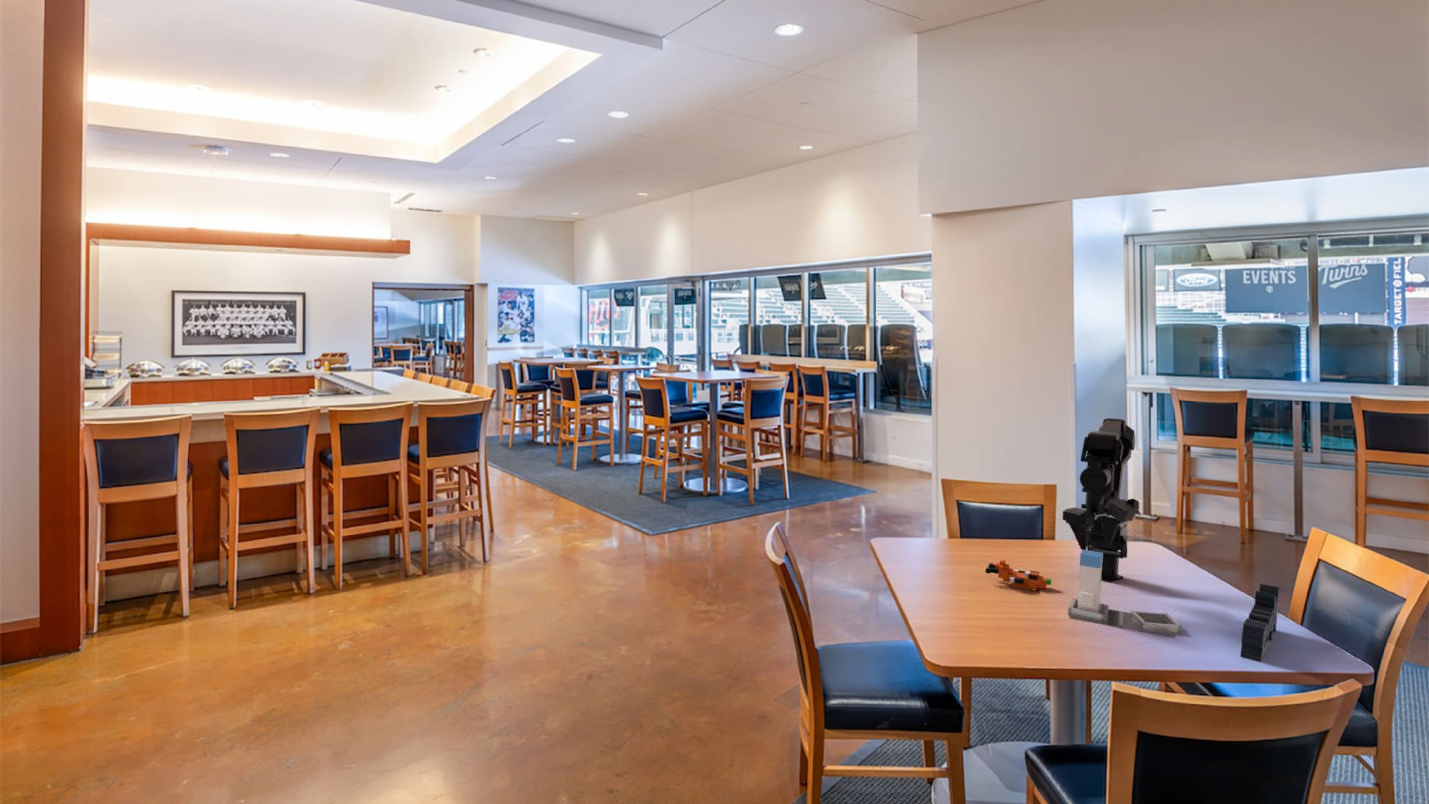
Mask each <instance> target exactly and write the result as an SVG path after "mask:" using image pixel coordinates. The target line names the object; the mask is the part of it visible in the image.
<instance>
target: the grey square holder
mask: <svg viewBox="0 0 1429 804" xmlns="http://www.w3.org/2000/svg"><path fill="white" fill-rule="evenodd" d="M1075 607H1078V598H1072V600H1071V601H1070V603H1069V606H1068V609H1067V616H1070V615H1071V616H1076V617H1081V618H1086V619H1091V620H1096V621H1101V622H1105V620H1106V617H1107V615H1108V611H1109V609H1110V606H1109V604H1104V603H1100V606H1099V611H1101V612H1102V613H1097V612H1091V611H1086V610H1081V609H1076V608H1075Z"/></svg>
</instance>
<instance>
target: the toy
mask: <svg viewBox="0 0 1429 804" xmlns="http://www.w3.org/2000/svg"><path fill="white" fill-rule="evenodd" d="M985 574H997V575H998V578H999V579H1002V582H1006V583H1011V585H1010V586H1011V587H1014V586H1015V587H1014V588H1019V587H1020V589H1025V588H1026V590H1031V589H1035V590H1034V591H1038V588H1040V589H1041V588H1043V589H1046V588H1047V587H1048V586H1051V584H1052V578H1048V577H1044V576H1043V575H1040V571H1035V570H1019V569H1014V568H1010V564H1009V563H1006V559H1001V558H1000V561H999V562H996V563H992V562H990V563H989V564H988V566H987V567H986V568H985Z"/></svg>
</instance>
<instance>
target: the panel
mask: <svg viewBox="0 0 1429 804" xmlns="http://www.w3.org/2000/svg"><path fill="white" fill-rule="evenodd" d="M1075 608H1076V609H1078V607H1075ZM1099 613H1102V612H1101V611H1099ZM1069 619H1070V620H1076V621H1082V622H1087V623H1093V624H1097V625H1103V626H1109V627H1114V628H1120V629H1124V630H1130V631H1135V632H1140V633H1141V632H1142V633H1146V634H1150V635H1151V634H1152V635H1158V636H1161V637H1162V636H1163V637H1167V638H1173V639H1175V638H1176V634H1175V633H1166V632H1155V631H1143V630H1142V629H1141V628H1140V627H1139V626H1138V625H1137V624H1136V623H1135V622H1134V621H1133V620H1132V618H1131V612H1126V611H1121V610H1116V609H1110V608H1109V611H1108V615H1107V617H1106V620H1105V622H1101V621H1096V620H1091V619H1086V618H1081V617H1076V616H1071V615H1069ZM1144 621H1145V622H1148V623H1160V624H1167V623H1166V622H1165V621H1153V620H1144Z"/></svg>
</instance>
